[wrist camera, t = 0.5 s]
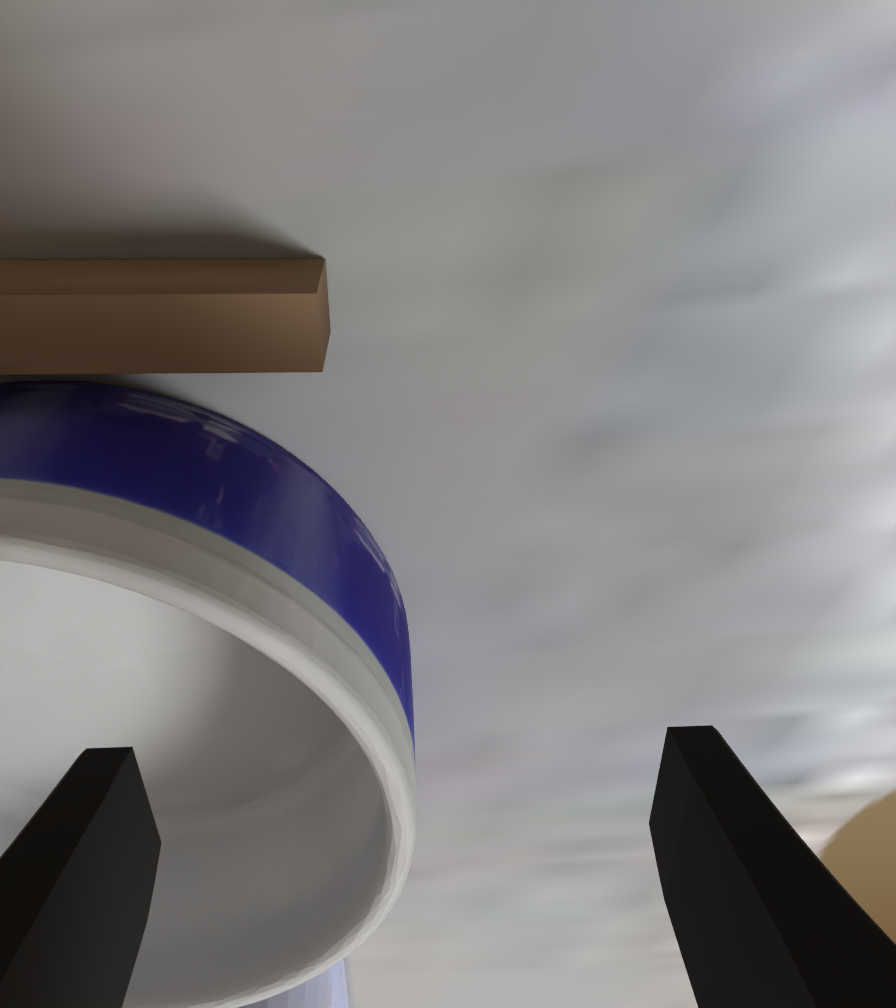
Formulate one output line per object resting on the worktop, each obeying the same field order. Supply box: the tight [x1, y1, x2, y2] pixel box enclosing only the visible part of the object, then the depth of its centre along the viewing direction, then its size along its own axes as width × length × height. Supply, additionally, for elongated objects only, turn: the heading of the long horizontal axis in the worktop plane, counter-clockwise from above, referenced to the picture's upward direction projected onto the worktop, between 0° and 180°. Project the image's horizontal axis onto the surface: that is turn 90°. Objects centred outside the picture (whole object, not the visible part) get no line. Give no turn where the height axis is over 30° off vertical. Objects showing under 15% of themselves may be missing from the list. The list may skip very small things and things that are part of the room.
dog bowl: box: [0, 381, 416, 1008], centre depth 20 cm, size 15×15×6 cm
